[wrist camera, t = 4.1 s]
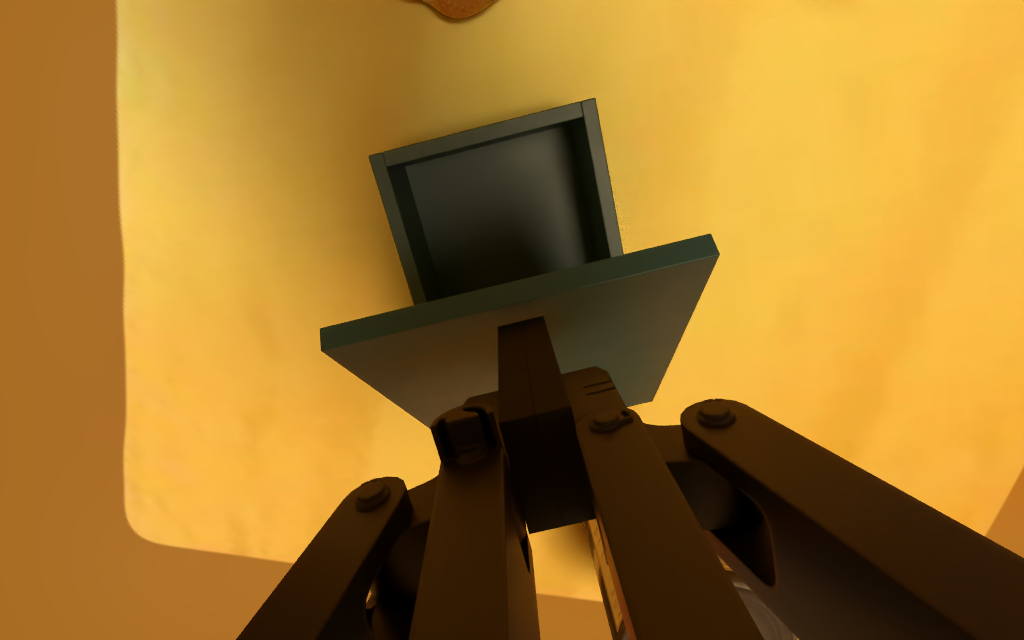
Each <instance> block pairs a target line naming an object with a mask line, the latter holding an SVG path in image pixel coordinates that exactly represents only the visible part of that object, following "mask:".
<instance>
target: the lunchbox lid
mask: <svg viewBox="0 0 1024 640" xmlns="http://www.w3.org/2000/svg"><path fill="white" fill-rule="evenodd" d="M719 255H720V254H719V251H718V249H717V247H716V244H715V242H714V240H713V237H712V235H711V234H706V235H702V236H698V237H694V238H690V239H686V240H682V241H678V242H674V243H669V244H665V245H661V246H657V247H653V248H649V249H645V250H641V251H637V252H632V253H628V254H624V255H620V256H616V257H612V258H608V259H604V260H600V261H595V262H591V263H587V264H583V265H579V266H575V267H571V268H567V269H562V270H558V271H554V272H550V273H546V274H542V275H538V276H534V277H530V278H525V279H521V280H517V281H513V282H509V283H505V284H501V285H497V286H493V287H488V288H484V289H480V290H476V291H472V292H468V293H464V294H460V295H456V296H451V297H447V298H443V299H439V300H435V301H431V302H427V303H423V304H418V305H414V306H410V307H406V308H402V309H398V310H394V311H390V312H386V313H381V314H377V315H373V316H369V317H365V318H361V319H357V320H353V321H349V322H344V323H340V324H336V325H332V326H328V327H324V328H320V341H321V351H322V352H324V353H325V354H326V355H328V356H329V357H331V358H332V359H333V360H335V361H336V362H338V363H339V364H340V365H342V366H343V367H345V368H346V369H347V370H349V371H350V372H352V373H353V374H354V375H356V376H357V377H359V378H360V379H361V380H363V381H364V382H366V383H367V384H368V385H370V386H371V387H373V388H374V389H375V390H377V391H378V392H379V393H381V394H382V395H384V396H385V397H386V398H388V399H389V400H391V401H392V402H393V403H395V404H396V405H398V406H399V407H400V408H402V409H403V410H405V411H406V412H407V413H409V414H410V415H412V416H413V417H414V418H416V419H417V420H419V421H420V422H421V423H423V424H424V425H426V426H427V427H428V428H430V426H431V424H432V422H433V421H434V420H435V419H436V418H437V417H438V416H440V415H441V414H443V413H445V412H446V411H448V410H450V409H453V408H456V407H459V406H462V405H463V404H464V402H465V401H466V400H467V399H468V398H469V397H473V396H477V395H481V394H486V393H490V392H494V391H498V326H503V325H507V324H511V323H515V322H519V321H523V320H527V319H532V318H536V317H540V316H543V317H544V320H545V323H546V326H547V330H548V333H549V336H550V339H551V343H552V346H553V349H554V352H555V356H556V359H557V362H558V365H559V369H560V372H561V374H564V373H568V372H572V371H577V370H581V369H585V368H589V367H594V366H597V367H599V368H601V369H603V370H605V371H607V372H608V373H609V375H610V377H611V379H612V382H613V383H614V385H615V386H616V389H617V390H618V392H619V394H620V396H621V398H622V400H623V401H624V403H625V405H626V407H629V406H634V405H638V404H642V403H647V402H651V401H653V399H654V397H655V394H656V392H657V390H658V388H659V386H660V384H661V381H662V379H663V377H664V375H665V373H666V371H667V368H668V366H669V364H670V362H671V360H672V357H673V355H674V353H675V351H676V349H677V347H678V344H679V342H680V340H681V338H682V336H683V333H684V331H685V329H686V327H687V325H688V323H689V320H690V318H691V316H692V314H693V312H694V310H695V307H696V305H697V303H698V301H699V299H700V296H701V294H702V292H703V290H704V288H705V286H706V283H707V281H708V279H709V277H710V275H711V273H712V270H713V268H714V266H715V264H716V262H717V259H718V257H719Z"/></svg>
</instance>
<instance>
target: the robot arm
mask: <svg viewBox="0 0 1024 640" xmlns="http://www.w3.org/2000/svg"><path fill="white" fill-rule="evenodd" d="M680 422H681V425H670V426H656V425H650V424H645V423H643V422H642V420H641V418H640V417H639V415H638V414H637V413H636V412H635V411H634V410H631V409H628V408H627V407H626V405H625V403H624V401H623V400H622V398H621V396H620V394H619V392H618V390H617V389H616V386H615V385H614V383H613V382H612V379H611V377H610V375H609V373H608V372H607V371H605V370H603V369H601V368H599V367H597V366H594V367H589V368H585V369H581V370H577V371H572V372H568V373H564V374H561V372H560V369H559V365H558V362H557V359H556V356H555V352H554V349H553V346H552V343H551V339H550V336H549V333H548V330H547V326H546V323H545V320H544V317H543V316H540V317H536V318H532V319H527V320H523V321H519V322H515V323H511V324H507V325H503V326H498V391H494V392H490V393H486V394H481V395H477V396H473V397H469V398H468V399H467V400H466V401H465V402H464V404H463V405H462V406H459V407H456V408H453V409H450V410H448V411H446V412H445V413H443V414H441V415H440V416H438V417H437V418H436V419H435V420H434V421H433V422H432V424H431V426H430V429H431V432H432V435H433V438H434V441H435V444H436V447H437V450H438V454H439V457H440V460H441V465H440V470H439V475H438V476H436V477H435V478H433V479H432V480H430V481H428V482H426V483H424V484H421V485H419V486H417V487H414V488H412V489H410V490H407V488H406V486H405V483H404V480H402V479H400V478H398V477H383V478H376V479H373V480H370V481H367V482H365V483H363V484H362V485H361V486H359V487H358V488H356V489H355V490H353V491H352V492H351V493H350V494H349V495H348V496H347V497H346V498H345V499H344V500H343V501H342V502H341V504H340V505H339V506H338V507H337V509H336V510H335V511H334V513H333V514H332V515H331V517H330V518H329V519H328V520H327V522H326V523H325V524H324V526H323V527H322V528H321V530H320V531H319V532H318V533H317V535H316V536H315V537H314V539H313V540H312V541H311V543H310V544H309V545H308V547H307V548H306V549H305V550H304V552H303V553H302V554H301V556H300V557H299V558H298V560H297V561H296V562H295V563H294V565H293V566H292V567H291V569H290V570H289V572H288V573H287V574H286V575H285V576H284V578H283V579H282V580H281V582H280V583H279V584H278V586H277V587H276V588H275V590H274V591H273V592H272V594H271V595H270V596H269V597H268V599H267V600H266V601H265V603H264V604H263V605H262V607H261V608H260V609H259V610H258V612H257V613H256V614H255V616H254V617H253V618H252V620H251V621H250V622H249V624H248V625H247V626H246V627H245V629H244V630H243V631H242V632H241V634H240V635H239V637H238V638H237V639H236V640H540V631H539V620H538V610H537V600H536V589H535V578H534V568H533V557H532V549H531V546H530V542H529V538H528V535H527V531H526V524H527V527H528V531H529V534H532V533H536V532H540V531H545V530H549V529H554V528H558V527H563V526H567V525H572V524H576V523H581V522H585V521H589V520H594V519H596V520H597V524H598V529H599V533H600V537H601V542H602V546H603V550H604V554H605V559H606V563H607V565H608V566H609V570H610V573H611V577H612V581H613V584H614V588H615V591H616V595H617V599H618V602H619V606H620V610H621V613H622V617H623V620H624V624H625V628H626V631H627V635H628V639H629V640H764V638H763V636H762V634H761V633H760V631H759V629H758V627H757V625H756V624H755V622H754V620H753V618H752V617H751V615H750V613H749V611H748V609H747V608H746V606H745V604H744V602H743V600H742V599H741V597H740V595H739V593H738V592H737V590H736V588H735V586H734V584H733V583H732V581H731V579H730V577H729V575H728V574H727V572H726V570H725V568H724V567H723V565H722V563H721V561H720V559H719V558H718V556H719V557H720V558H721V559H722V560H723V561H724V562H725V564H726V565H727V566H728V567H729V568H730V569H731V570H732V571H733V572H734V573H735V574H736V575H737V576H738V577H739V578H740V579H741V580H742V581H743V582H744V583H745V584H746V585H747V586H748V587H749V588H750V589H751V590H752V591H753V592H754V593H755V594H756V595H757V596H758V598H759V599H760V600H761V601H762V602H763V603H764V604H765V605H766V606H767V607H768V608H769V609H770V610H771V611H772V612H773V613H774V614H775V615H776V616H777V617H778V618H779V619H780V620H781V621H782V622H783V623H784V624H785V625H786V626H787V627H788V628H789V629H790V630H791V631H792V633H793V634H794V635H795V636H796V637H797V638H798V639H799V640H1024V558H1022V557H1021V556H1019V555H1017V554H1015V553H1013V552H1012V551H1010V550H1008V549H1006V548H1004V547H1003V546H1001V545H999V544H997V543H995V542H994V541H992V540H990V539H988V538H986V537H984V536H983V535H981V534H979V533H977V532H975V531H974V530H972V529H970V528H968V527H966V526H965V525H963V524H961V523H959V522H957V521H955V520H954V519H952V518H950V517H948V516H946V515H945V514H943V513H941V512H939V511H937V510H936V509H934V508H932V507H930V506H928V505H927V504H925V503H923V502H921V501H919V500H917V499H916V498H914V497H912V496H910V495H908V494H907V493H905V492H903V491H901V490H899V489H898V488H896V487H894V486H892V485H890V484H888V483H887V482H885V481H883V480H881V479H879V478H878V477H876V476H874V475H872V474H870V473H869V472H867V471H865V470H863V469H861V468H860V467H858V466H856V465H854V464H852V463H850V462H849V461H847V460H845V459H843V458H841V457H840V456H838V455H836V454H834V453H832V452H831V451H829V450H827V449H825V448H823V447H821V446H820V445H818V444H816V443H814V442H812V441H811V440H809V439H807V438H805V437H803V436H802V435H800V434H798V433H796V432H794V431H793V430H791V429H789V428H787V427H785V426H783V425H782V424H780V423H778V422H776V421H774V420H773V419H771V418H769V417H767V416H765V415H764V414H762V413H760V412H758V411H756V410H754V409H753V408H751V407H749V406H747V405H745V404H743V403H740V402H737V401H733V400H725V399H715V400H713V399H708V400H705V401H702V402H698V403H695V404H693V405H691V406H689V407H687V408H686V409H685V410H684V411H683V412H682V414H681V419H680ZM525 520H526V521H525ZM717 555H718V556H717ZM369 590H370V591H371V593H372V595H371V597H370V598H369V600H368V602H367V603H366V599H367V596H368V593H369Z"/></svg>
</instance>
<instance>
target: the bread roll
mask: <svg viewBox="0 0 1024 640" xmlns="http://www.w3.org/2000/svg"><path fill="white" fill-rule="evenodd" d="M422 1H424V2H426V3H428V4H430V5H432V6H433V7H434V8H435V9H436V10H438V11H439V12H441V13H442V14H444V15H446V16H449V17H453V18H466V17H469V16H472V15H474V14H476V13H478V12H480V11H482V10H484V9H485V8H487V7H488V6H490V5H491V4H493V3H494V2H495V1H496V0H422Z"/></svg>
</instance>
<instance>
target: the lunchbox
mask: <svg viewBox="0 0 1024 640" xmlns="http://www.w3.org/2000/svg"><path fill="white" fill-rule="evenodd" d="M369 160H370V163H371V166H372V169H373V173H374V176H375V179H376V182H377V186H378V189H379V192H380V195H381V199H382V202H383V205H384V208H385V212H386V215H387V218H388V221H389V225H390V228H391V231H392V235H393V238H394V241H395V244H396V248H397V251H398V254H399V257H400V261H401V264H402V267H403V270H404V274H405V277H406V280H407V283H408V287H409V290H410V293H411V296H412V300H413V303H414V305H418V304H423V303H427V302H431V301H435V300H439V299H443V298H447V297H451V296H456V295H460V294H464V293H468V292H472V291H476V290H480V289H484V288H488V287H493V286H497V285H501V284H505V283H509V282H513V281H517V280H521V279H525V278H530V277H534V276H538V275H542V274H546V273H550V272H554V271H558V270H562V269H567V268H571V267H575V266H579V265H583V264H587V263H591V262H595V261H600V260H604V259H608V258H612V257H616V256H620V255H624V254H623V248H622V243H621V237H620V232H619V226H618V221H617V215H616V210H615V204H614V199H613V193H612V188H611V182H610V177H609V171H608V165H607V160H606V154H605V149H604V143H603V138H602V132H601V127H600V121H599V116H598V110H597V105H596V99H595V98H591V99H588V100H584V101H581V102H576V103H572V104H568V105H564V106H560V107H556V108H552V109H548V110H545V111H541V112H537V113H533V114H529V115H525V116H521V117H517V118H513V119H510V120H506V121H502V122H498V123H494V124H490V125H486V126H482V127H478V128H474V129H471V130H467V131H463V132H459V133H455V134H451V135H447V136H443V137H439V138H435V139H432V140H428V141H424V142H420V143H416V144H412V145H408V146H404V147H400V148H396V149H393V150H389V151H385V152H383V153H382V152H381V153H377V154H373V155H369Z"/></svg>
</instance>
